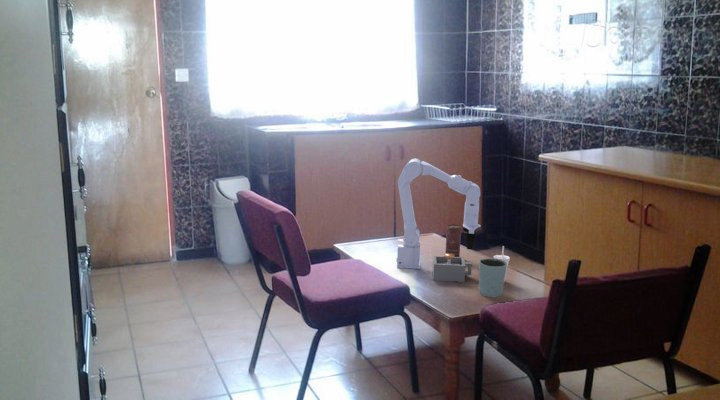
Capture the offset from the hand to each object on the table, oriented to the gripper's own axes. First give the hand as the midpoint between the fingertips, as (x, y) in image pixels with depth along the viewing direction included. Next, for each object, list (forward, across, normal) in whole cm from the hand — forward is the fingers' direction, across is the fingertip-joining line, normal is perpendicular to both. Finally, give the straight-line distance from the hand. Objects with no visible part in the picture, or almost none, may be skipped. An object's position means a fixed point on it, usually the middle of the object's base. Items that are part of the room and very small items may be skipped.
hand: (468, 246), depth 295 cm
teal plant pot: (+10, -28, -7) cm, 31 cm away
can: (+10, +18, +5) cm, 21 cm away
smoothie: (+10, -12, -12) cm, 20 cm away
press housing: (+10, -10, +7) cm, 16 cm away
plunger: (+6, -10, +8) cm, 15 cm away
